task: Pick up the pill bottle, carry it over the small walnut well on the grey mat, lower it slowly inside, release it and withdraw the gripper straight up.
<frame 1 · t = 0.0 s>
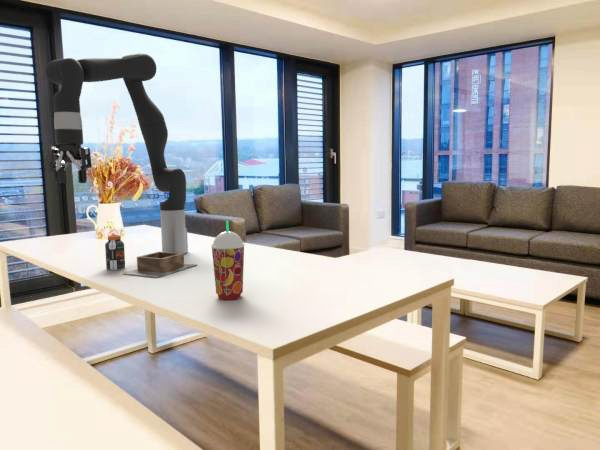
hand: (72, 183, 147), 29 cm above the table, fingers open, 8 cm apart
well: (161, 269, 160), on the table
smoothie: (229, 298, 126), on the table
pill bottle: (116, 269, 164), on the table
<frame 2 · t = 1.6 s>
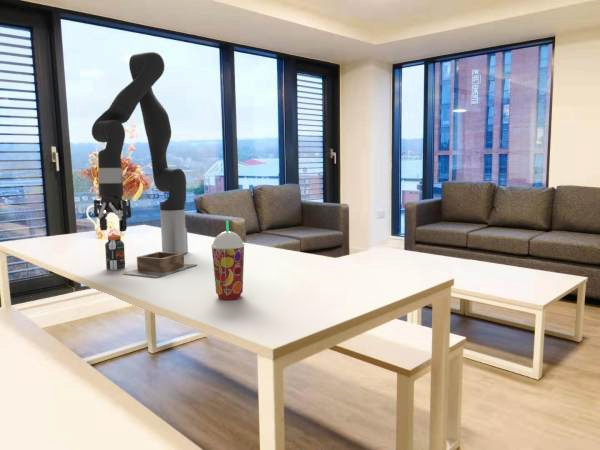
hand: (113, 230, 162), 13 cm above the table, fingers open, 8 cm apart
nothing on the table moved.
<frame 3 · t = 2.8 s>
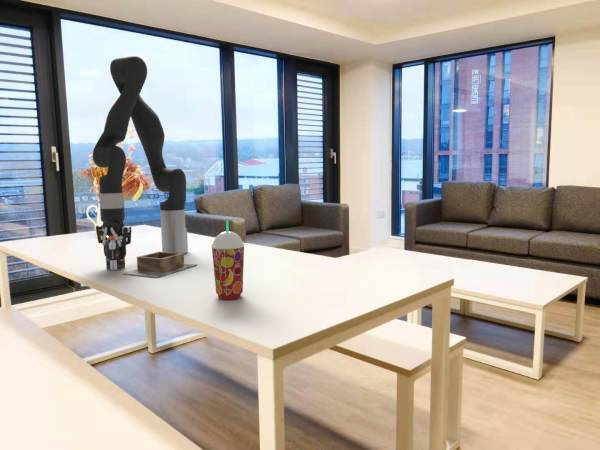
hand: (115, 256, 163), 4 cm above the table, fingers closed on pill bottle, 6 cm apart
pill bottle: (116, 269, 164), on the table, touching gripper
everything else where it was.
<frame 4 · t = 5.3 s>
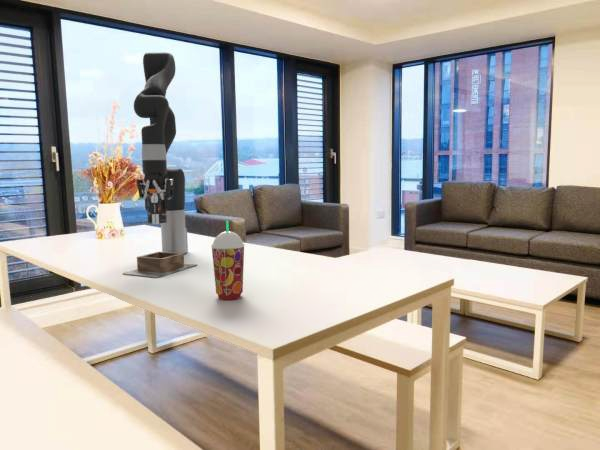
hand: (156, 210, 158), 20 cm above the table, fingers closed on pill bottle, 6 cm apart
pill bottle: (157, 224, 158), point 15 cm above the table, touching gripper
everything else where it was.
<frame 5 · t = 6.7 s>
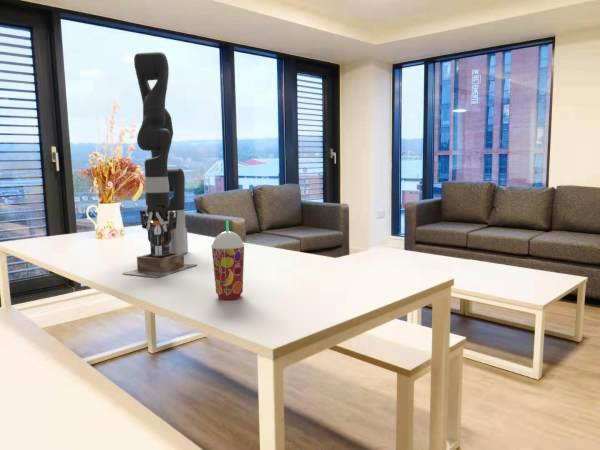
hand: (159, 242, 159), 9 cm above the table, fingers closed on pill bottle, 6 cm apart
pill bottle: (160, 255, 160), point 5 cm above the table, touching gripper
everything else where it was.
when the fingers open (6 cm above the table, at t = 7.8 s): pill bottle drops 2 cm, resting on well.
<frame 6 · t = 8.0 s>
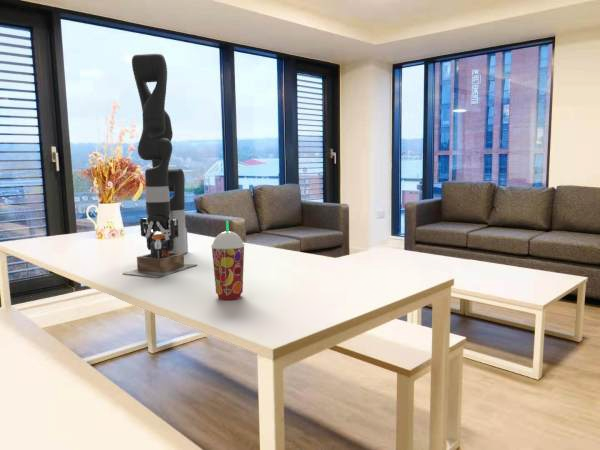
hand: (160, 250, 160), 7 cm above the table, fingers open, 7 cm apart
pill bottle: (161, 268, 160), resting on well
everything else where it was.
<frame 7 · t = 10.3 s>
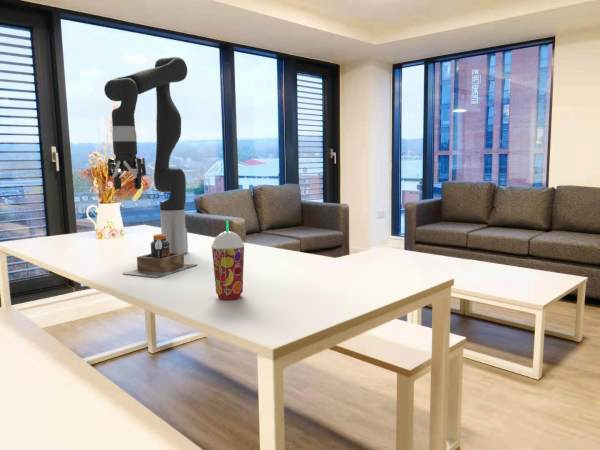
hand: (127, 189, 164), 26 cm above the table, fingers open, 8 cm apart
nothing on the table moved.
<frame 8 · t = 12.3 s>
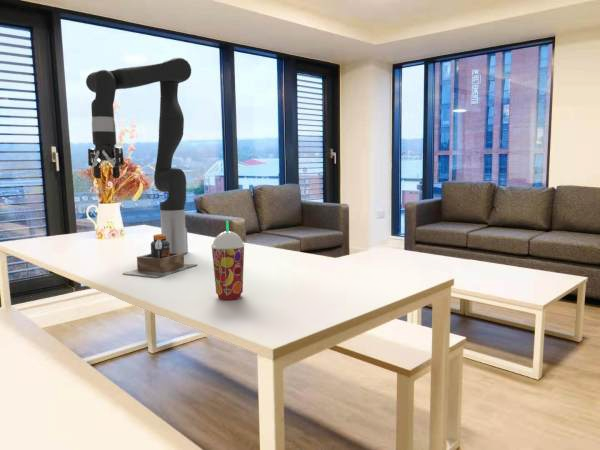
hand: (106, 178, 169), 30 cm above the table, fingers open, 8 cm apart
nothing on the table moved.
at the end: pill bottle 0.0 cm off-centre on the well, point 0.2 cm above the well's base; pill bottle tilted 0°; the gripper is holding nothing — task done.
